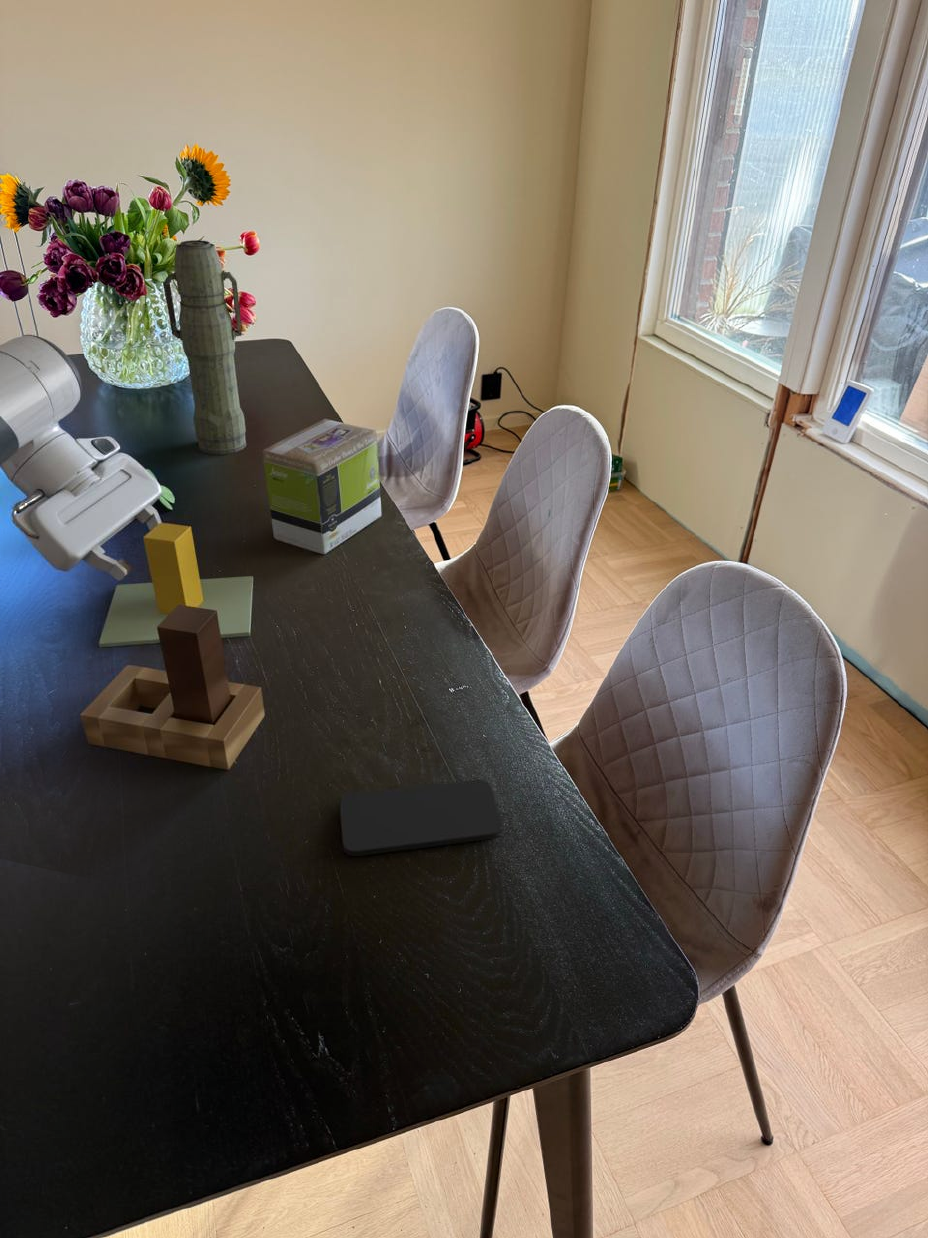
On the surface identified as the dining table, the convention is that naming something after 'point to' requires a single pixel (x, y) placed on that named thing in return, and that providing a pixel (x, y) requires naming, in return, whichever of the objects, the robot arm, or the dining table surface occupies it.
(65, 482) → the robot arm
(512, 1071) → the dining table surface
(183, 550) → the yellow peg
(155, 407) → the dining table surface
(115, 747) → the stand
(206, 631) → the walnut peg
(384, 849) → the phone
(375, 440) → the tea box
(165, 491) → the seedling
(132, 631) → the mat
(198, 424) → the thermos
